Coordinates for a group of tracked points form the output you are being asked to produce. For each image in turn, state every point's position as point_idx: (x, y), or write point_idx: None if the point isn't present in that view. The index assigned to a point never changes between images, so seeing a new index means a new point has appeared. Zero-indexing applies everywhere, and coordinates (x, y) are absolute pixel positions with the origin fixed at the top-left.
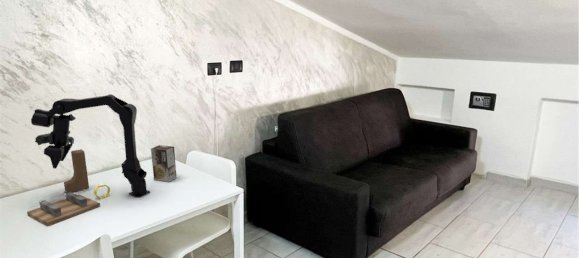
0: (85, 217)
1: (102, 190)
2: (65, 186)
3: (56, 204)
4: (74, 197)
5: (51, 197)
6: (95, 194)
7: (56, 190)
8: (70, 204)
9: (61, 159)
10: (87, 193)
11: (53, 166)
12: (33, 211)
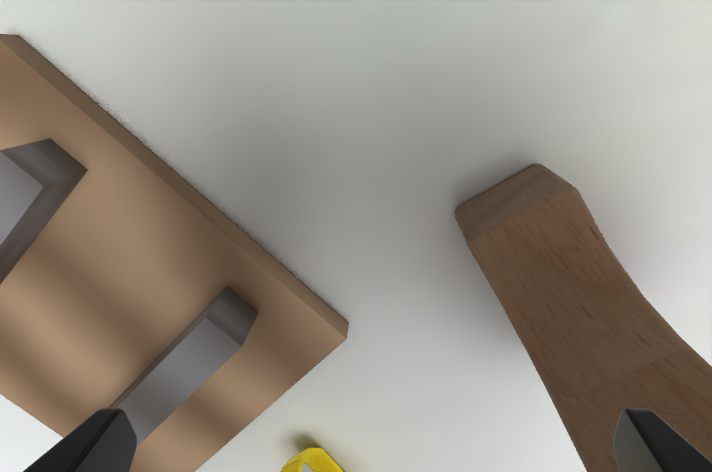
0: (13, 440)
1: (465, 443)
2: (497, 210)
3: (144, 234)
4: (118, 405)
5: (402, 86)
6: (283, 469)
7: (593, 62)
8: (140, 337)
9: (635, 459)
10: (427, 358)
11: (60, 457)
12: (2, 93)
